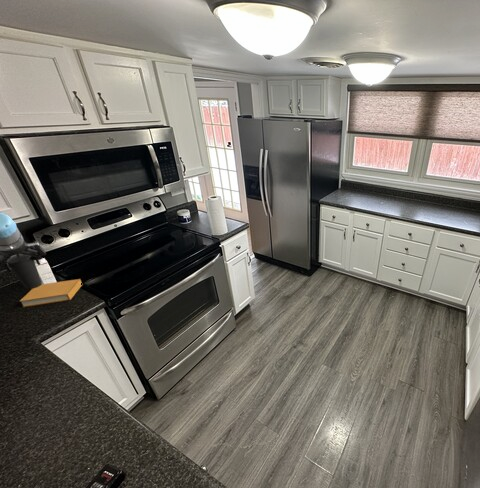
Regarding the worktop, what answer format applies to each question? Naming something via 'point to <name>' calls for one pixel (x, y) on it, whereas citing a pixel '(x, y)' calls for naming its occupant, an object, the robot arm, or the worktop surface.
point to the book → (51, 293)
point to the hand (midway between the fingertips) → (23, 265)
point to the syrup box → (45, 272)
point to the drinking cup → (25, 270)
